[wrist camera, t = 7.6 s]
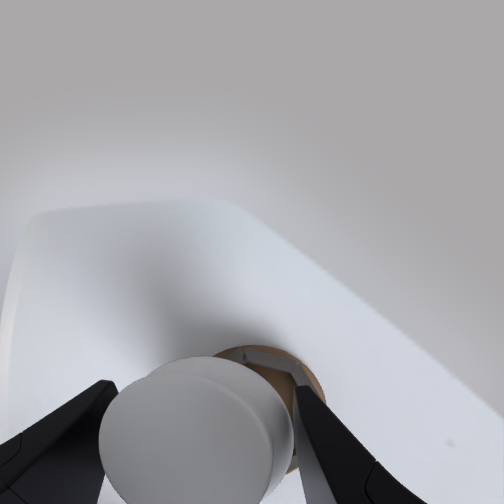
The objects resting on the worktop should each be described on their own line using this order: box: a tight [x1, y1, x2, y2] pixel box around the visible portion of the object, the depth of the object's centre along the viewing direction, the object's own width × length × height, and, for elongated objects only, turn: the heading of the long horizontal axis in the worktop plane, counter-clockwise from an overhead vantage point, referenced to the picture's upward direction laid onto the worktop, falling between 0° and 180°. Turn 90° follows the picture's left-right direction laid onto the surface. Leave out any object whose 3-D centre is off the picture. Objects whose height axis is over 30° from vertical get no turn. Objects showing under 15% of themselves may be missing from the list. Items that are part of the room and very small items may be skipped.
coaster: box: [213, 345, 326, 475], centre depth 17 cm, size 10×10×3 cm
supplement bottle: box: [99, 356, 294, 504], centre depth 9 cm, size 5×5×10 cm
